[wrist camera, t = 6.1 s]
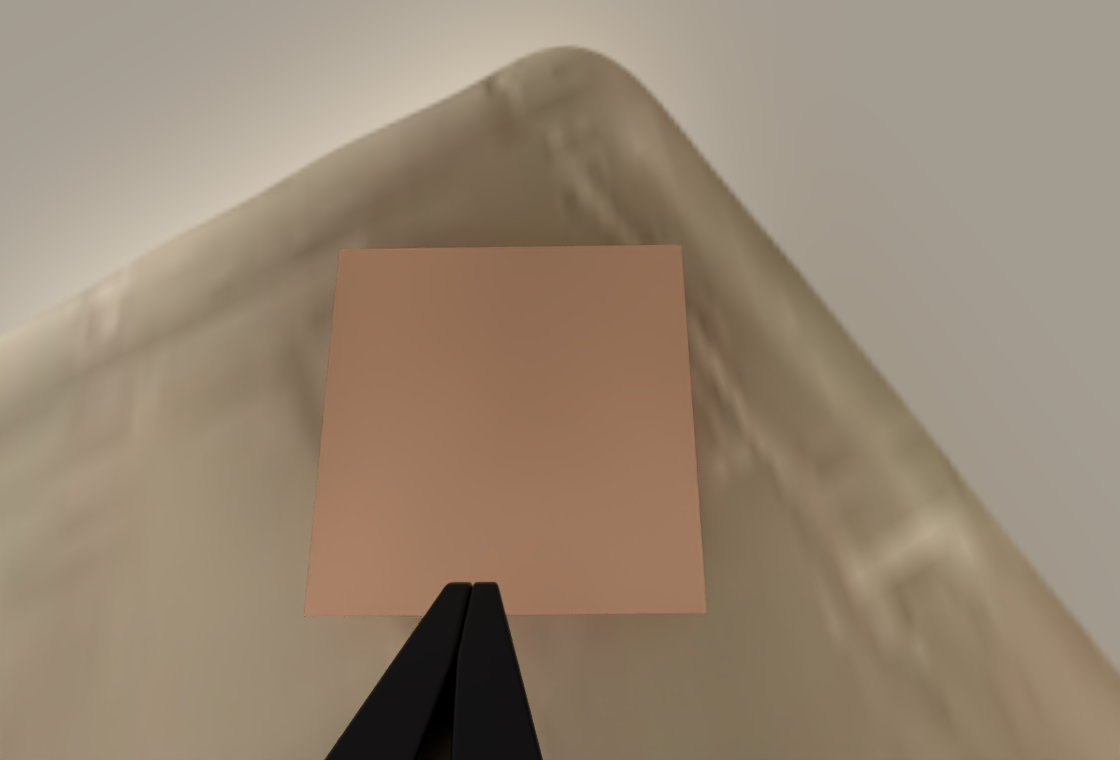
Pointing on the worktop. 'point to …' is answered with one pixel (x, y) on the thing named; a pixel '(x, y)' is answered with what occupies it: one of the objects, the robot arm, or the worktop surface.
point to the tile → (508, 433)
